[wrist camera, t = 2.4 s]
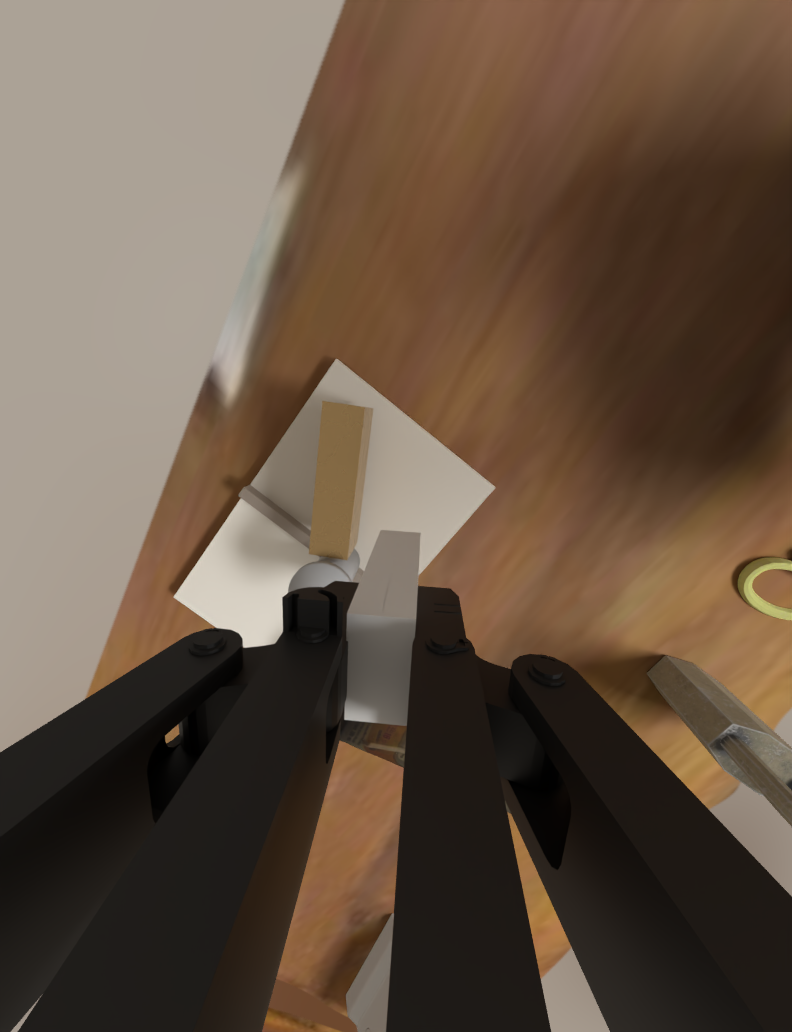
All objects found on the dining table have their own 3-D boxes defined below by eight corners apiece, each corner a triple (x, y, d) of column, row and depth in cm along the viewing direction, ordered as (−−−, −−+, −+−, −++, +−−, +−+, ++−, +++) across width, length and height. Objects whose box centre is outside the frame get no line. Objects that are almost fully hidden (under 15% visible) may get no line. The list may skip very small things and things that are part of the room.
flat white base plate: (493, 485, 33) (513, 506, 25) (316, 688, 39) (287, 756, 31) (339, 360, 32) (309, 342, 24) (181, 591, 38) (115, 637, 30)
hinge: (393, 911, 46) (418, 1046, 37) (429, 908, 47) (461, 1037, 38) (344, 996, 50) (356, 1136, 41) (379, 991, 52) (397, 1125, 43)
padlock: (707, 726, 37) (887, 927, 22) (639, 679, 36) (779, 853, 22) (741, 697, 36) (952, 887, 21) (671, 648, 35) (840, 809, 21)
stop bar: (357, 543, 32) (347, 560, 28) (323, 537, 32) (308, 554, 28) (373, 408, 29) (365, 406, 26) (336, 402, 30) (322, 400, 26)
